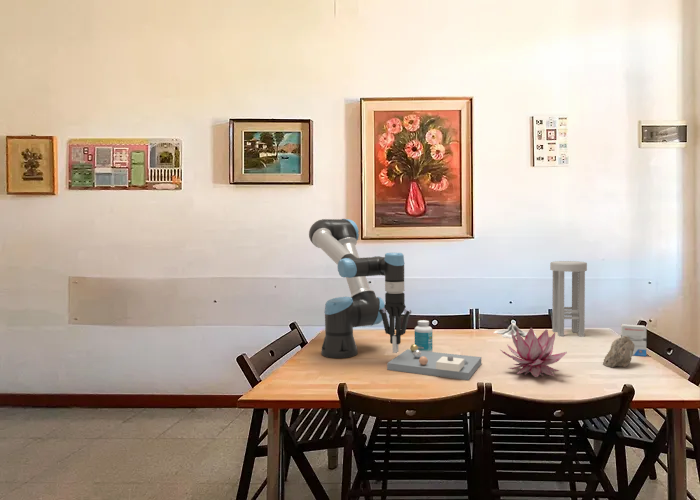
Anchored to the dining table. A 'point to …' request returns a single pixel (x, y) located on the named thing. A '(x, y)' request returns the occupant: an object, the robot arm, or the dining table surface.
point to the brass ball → (413, 347)
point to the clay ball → (423, 360)
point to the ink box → (636, 337)
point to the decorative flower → (534, 353)
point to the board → (433, 364)
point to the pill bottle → (423, 336)
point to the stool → (577, 296)
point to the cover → (450, 363)
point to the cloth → (514, 329)
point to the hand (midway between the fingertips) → (395, 351)
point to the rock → (620, 352)
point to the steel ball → (417, 354)
